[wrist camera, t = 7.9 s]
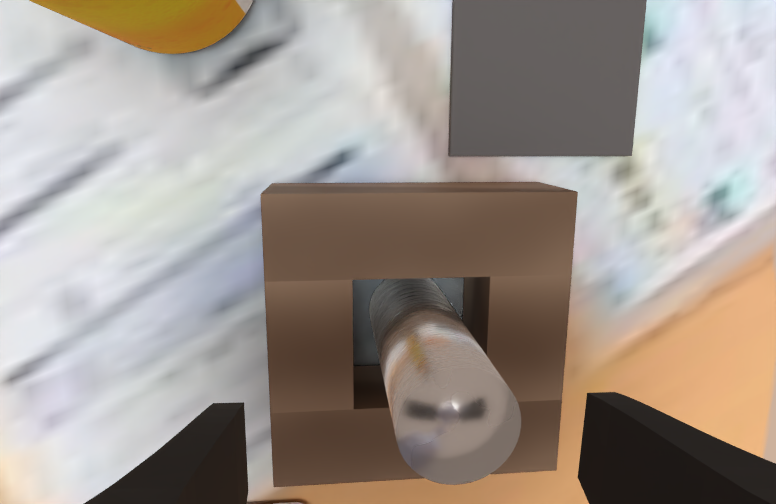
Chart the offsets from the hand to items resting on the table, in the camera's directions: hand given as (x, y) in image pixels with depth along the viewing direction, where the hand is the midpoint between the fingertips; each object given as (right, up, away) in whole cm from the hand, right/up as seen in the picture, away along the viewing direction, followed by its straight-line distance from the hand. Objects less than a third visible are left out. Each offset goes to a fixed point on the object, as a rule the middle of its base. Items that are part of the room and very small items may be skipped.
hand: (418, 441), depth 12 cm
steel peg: (0, +2, +10) cm, 10 cm away
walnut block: (0, +2, +10) cm, 10 cm away
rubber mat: (+5, +12, +9) cm, 15 cm away
